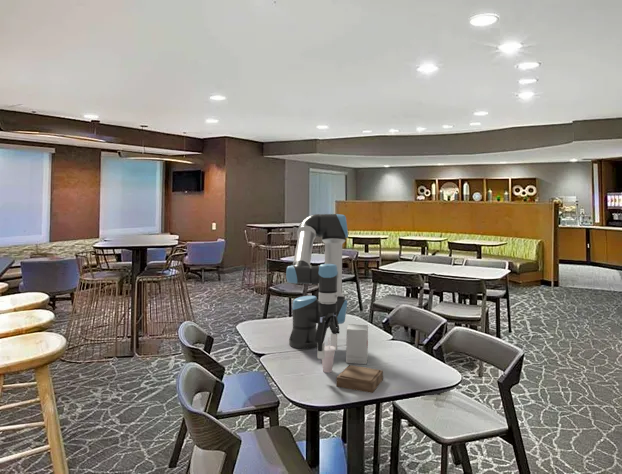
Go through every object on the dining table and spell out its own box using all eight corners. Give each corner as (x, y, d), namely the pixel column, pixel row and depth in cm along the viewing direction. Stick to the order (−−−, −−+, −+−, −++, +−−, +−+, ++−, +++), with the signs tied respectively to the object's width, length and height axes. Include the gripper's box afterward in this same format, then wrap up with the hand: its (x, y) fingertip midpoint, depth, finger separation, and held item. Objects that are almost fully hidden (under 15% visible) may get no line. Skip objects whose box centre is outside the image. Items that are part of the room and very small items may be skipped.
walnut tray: (349, 373, 176) (349, 363, 176) (382, 379, 170) (383, 369, 170) (336, 386, 163) (336, 376, 163) (372, 393, 157) (372, 382, 157)
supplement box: (366, 364, 186) (367, 330, 185) (345, 363, 188) (346, 329, 187) (368, 357, 195) (368, 324, 194) (348, 356, 197) (348, 323, 196)
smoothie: (330, 375, 174) (330, 340, 174) (316, 371, 178) (316, 338, 177) (338, 370, 180) (338, 336, 179) (324, 367, 183) (324, 334, 182)
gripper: (324, 309, 164) (324, 364, 165) (347, 297, 187) (346, 346, 188) (306, 307, 167) (306, 361, 168) (330, 296, 190) (330, 344, 191)
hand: (327, 353), depth 178 cm, fingers open, 13 cm apart
